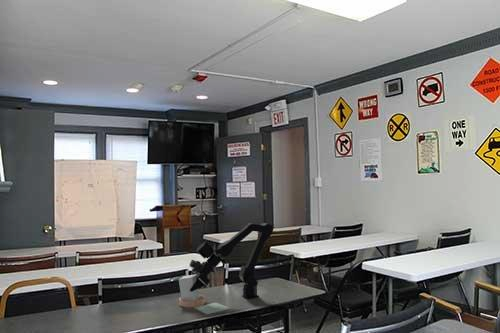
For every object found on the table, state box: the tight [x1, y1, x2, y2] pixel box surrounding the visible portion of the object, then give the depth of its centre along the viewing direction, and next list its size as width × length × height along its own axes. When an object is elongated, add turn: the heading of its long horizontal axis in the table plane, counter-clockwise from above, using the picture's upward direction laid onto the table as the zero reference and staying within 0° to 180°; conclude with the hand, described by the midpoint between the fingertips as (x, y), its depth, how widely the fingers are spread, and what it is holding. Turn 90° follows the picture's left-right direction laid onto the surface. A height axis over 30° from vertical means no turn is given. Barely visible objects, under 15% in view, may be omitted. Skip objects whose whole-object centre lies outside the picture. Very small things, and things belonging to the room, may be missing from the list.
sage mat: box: [194, 302, 231, 315], centre depth 191 cm, size 12×12×1 cm
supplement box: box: [178, 274, 201, 301], centre depth 201 cm, size 7×7×13 cm
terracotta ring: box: [178, 294, 206, 308], centre depth 201 cm, size 13×13×2 cm
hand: (188, 288), depth 201 cm, fingers closed on supplement box, 9 cm apart
